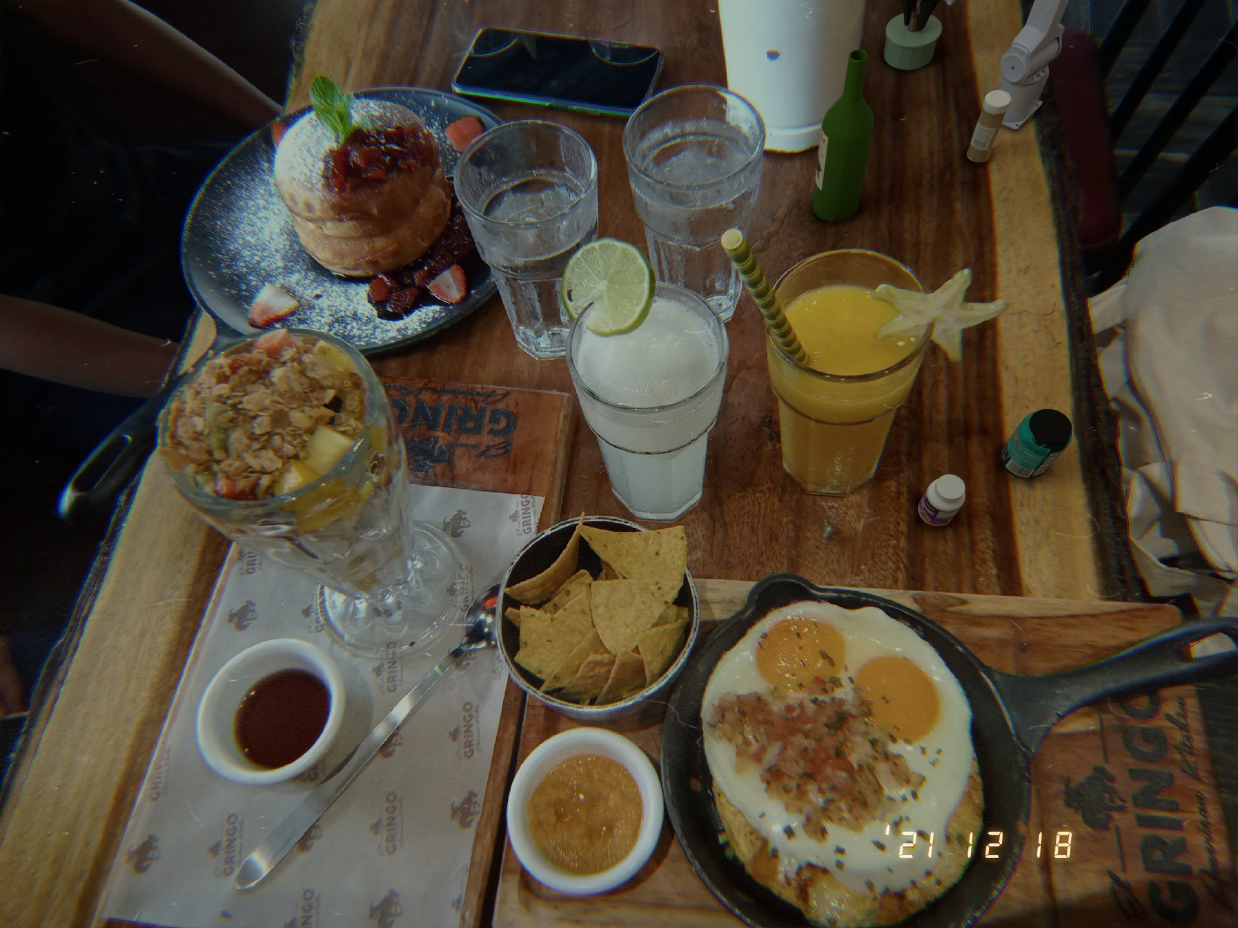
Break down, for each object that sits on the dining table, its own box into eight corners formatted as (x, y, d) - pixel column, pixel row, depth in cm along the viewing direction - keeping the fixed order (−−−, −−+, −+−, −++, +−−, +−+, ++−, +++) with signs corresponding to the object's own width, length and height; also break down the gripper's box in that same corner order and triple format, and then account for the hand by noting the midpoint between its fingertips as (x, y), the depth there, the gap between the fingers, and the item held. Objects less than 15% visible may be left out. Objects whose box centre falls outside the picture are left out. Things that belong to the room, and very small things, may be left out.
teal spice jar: (1046, 445, 118) (1076, 407, 107) (1046, 484, 115) (1078, 449, 105) (999, 439, 120) (1024, 402, 109) (998, 477, 117) (1024, 443, 106)
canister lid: (906, 10, 161) (911, -13, 157) (951, 28, 157) (958, 4, 152) (874, 38, 159) (878, 15, 154) (919, 57, 154) (924, 34, 150)
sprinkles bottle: (994, 156, 146) (1017, 97, 134) (977, 168, 145) (998, 109, 133) (977, 145, 148) (998, 85, 136) (960, 156, 147) (979, 97, 135)
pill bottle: (913, 498, 117) (927, 472, 109) (947, 493, 117) (964, 467, 108) (922, 529, 115) (937, 505, 106) (957, 524, 115) (975, 500, 106)
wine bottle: (808, 194, 149) (824, 43, 120) (852, 186, 148) (879, 32, 119) (817, 226, 145) (836, 78, 116) (863, 218, 144) (894, 67, 115)
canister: (902, 33, 165) (907, 9, 160) (943, 49, 161) (949, 25, 156) (874, 59, 163) (878, 35, 158) (914, 76, 159) (919, 52, 154)
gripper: (885, -42, 146) (874, 24, 158) (949, -18, 140) (932, 48, 153) (907, -60, 148) (894, 6, 160) (971, -38, 142) (953, 29, 154)
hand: (914, 26), depth 156 cm, fingers closed on canister lid, 3 cm apart
